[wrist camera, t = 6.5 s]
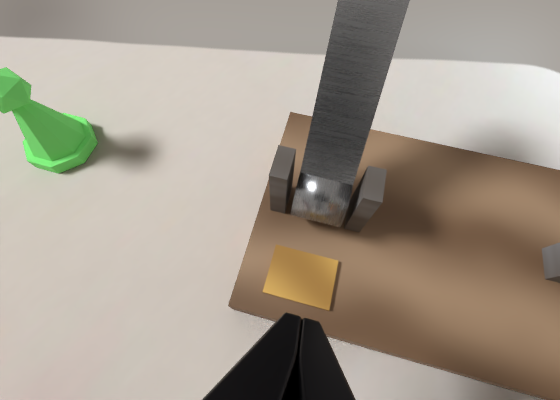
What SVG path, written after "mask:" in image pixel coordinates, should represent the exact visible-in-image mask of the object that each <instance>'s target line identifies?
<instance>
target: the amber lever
mask: <svg viewBox="0 0 560 400" xmlns="http://www.w3.org/2000/svg"><path fill="white" fill-rule="evenodd" d="M409 1H410V0H338V3H337V8H336V12H335V17H334V21H333V26H332V30H331V35H330V39H329V44H328V48H327V53H326V57H325V62H324V66H323V71H322V75H321V80H320V84H319V89H318V93H317V98H316V103H315V107H314V112H313V116H312V121H311V125H310V130H309V134H308V139H307V143H306V148H305V152H304V157H303V161H302V166H301V170H300V174H299V178H298V182H297V186H296V190H295V195H294V199H293V204H292V209H291V215H293V216H297V217H301V218H305V219H309V220H313V221H317V222H320V223H324V224H328V225H332V226H336V227H341V225H342V223H343V220H344V218H345V215H346V212H347V208H348V205H349V201H350V197H351V193H352V188H353V184H354V180H355V177H356V174H357V171H358V167H359V164H360V161H361V158H362V154H363V151H364V148H365V144H366V141H367V138H368V135H369V131H370V128H371V125H372V122H373V118H374V115H375V112H376V108H377V105H378V102H379V99H380V95H381V92H382V89H383V86H384V82H385V79H386V76H387V73H388V69H389V66H390V63H391V59H392V56H393V52H394V50H395V46H396V43H397V40H398V36H399V33H400V30H401V27H402V23H403V20H404V17H405V14H406V10H407V7H408V3H409Z"/></svg>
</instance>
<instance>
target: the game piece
mask: <svg viewBox="0 0 560 400" xmlns="http://www.w3.org/2000/svg"><path fill="white" fill-rule="evenodd" d="M30 95H31V85H30V84H29V83H28V82H26V81H25V80H23V79H22V78H21V77H19V76H18V75H16V74H15V73H14V72H12V71H11V70H9V69H8V68H7V67H6V68H2V69H0V111H1V112H2V113H7V112H9V111H11V110H12V112H13V114H14V116H15V118H16V120H17V122H18V124H19V126H20V129H21V131H22V133H23V135H24V137H25V140H24V141H23V145H24V149H25V153H26V157H27V161H28V162H30V163H31V164H32V165H34V166H35V167H37V168H41V169H44V170H48V171H51V172H55V173H61V172H64V171H66V170H69V169H71V168H74V167H76V166H79V165H81V164H84V163H85V162H86V160H87V159H88V157H89V156H90V154H91V153H92V151H93V150H94V148H95V147H96V145H97V144H98V142H97V139H96V137H95V134H94V131H93V128H92V126H91V124H90V123H89V122H88V121H87V120H86V119H85V118H81V117H77V116H73V115H70V114H66V113H59V112H57V111H55V110H53V109H51V108H48V107H46V106H44V105H42V104H39V103H37V102H35V101H33V100H31V99H30Z"/></svg>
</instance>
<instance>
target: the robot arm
mask: <svg viewBox="0 0 560 400" xmlns="http://www.w3.org/2000/svg"><path fill="white" fill-rule="evenodd" d="M202 400H355V398H354V395H353V393H352V391H351V389H350V387H349V384H348V382H347V380H346V378H345V376H344V374H343V371H342V369H341V367H340V365H339V363H338V360H337V358H336V356H335V354H334V352H333V349H332V347H331V345H330V343H329V341H328V339H327V336H326V334H325V332H324V330H323V328H322V325H321V323H320V322H319V321H316V320H313V319H309V318H303V319H302V318H301V317H300V316H298V315H295V314H291V313H288V312H286V313H284V314H283V315H282V316H281V317H280V318H279V319H278V320H277V321H276V322H275V323H274V324H273V325H272V326H271V328H270V329H269V330H268V331H267V332H266V333H265V334H264V335H263V336H262V337H261V338H260V339H259V340H258V341H257V342H256V343H255V344H254V345H253V347H252V348H251V349H250V350H249V351H248V352H247V353H246V354H245V355H244V356H243V357H242V358H241V359H240V360H239V361H238V362H237V363H236V364H235V366H234V367H233V368H232V369H231V370H230V371H229V372H228V373H227V374H226V375H225V376H224V377H223V378H222V379H221V380H220V381H219V382H218V383H217V385H216V386H215V387H214V388H213V389H212V390H211V391H210V392H209V393H208V394H207V395H206V396H205V397H204V398H203V399H202Z"/></svg>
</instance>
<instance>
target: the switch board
mask: <svg viewBox="0 0 560 400" xmlns="http://www.w3.org/2000/svg"><path fill="white" fill-rule="evenodd" d="M311 121H312V117H311V116H307V115H302V114H297V113H293V112H290V115H289V118H288V121H287V125H286V128H285V131H284V134H283V137H282V140H281V143H280V145H278V149H277V152H276V155H275V158H274V161H273V164H272V167H271V170H270V173H269V180H268V184H267V187H266V190H265V193H264V196H263V199H262V202H261V205H260V208H259V211H258V215H257V218H256V221H255V224H254V227H253V230H252V233H251V236H250V239H249V243H248V246H247V249H246V252H245V255H244V258H243V261H242V264H241V267H240V270H239V274H238V277H237V280H236V283H235V286H234V289H233V292H232V295H231V298H230V302H229V305H228V306H229V307H231V308H232V309H234V310H237V311H241V312H244V313H248V314H251V315H254V316H258V317H261V318H265V319H268V320H272V321H275V322H276V321H277V320H278V319H279V318H280V317H281V316H282V315H283V314H284V313H286V312H288V313H291V314H295V315H298V316H300V317H301V318H302V319H303V318H309V319H313V320H316V321H319V322H320V323H321V325H322V328H323V330H324V332H325V334H326V336H327V337H331V338H334V339H337V340H341V341H344V342H348V343H351V344H355V345H358V346H362V347H365V348H369V349H372V350H376V351H379V352H382V353H386V354H389V355H393V356H396V357H400V358H403V359H407V360H410V361H414V362H417V363H420V364H424V365H427V366H431V367H434V368H438V369H441V370H445V371H448V372H452V373H455V374H459V375H462V376H465V377H469V378H472V379H476V380H479V381H483V382H486V383H490V384H493V385H497V386H500V387H503V388H507V389H510V390H514V391H517V392H521V393H524V394H528V395H531V396H535V397H538V398H542V399H545V400H560V170H556V169H552V168H547V167H542V166H538V165H533V164H529V163H524V162H519V161H515V160H510V159H505V158H501V157H496V156H492V155H487V154H482V153H478V152H473V151H468V150H464V149H459V148H455V147H450V146H445V145H441V144H436V143H431V142H427V141H422V140H418V139H413V138H408V137H404V136H399V135H394V134H390V133H385V132H381V131H376V130H371V129H370V131H369V135H368V138H367V141H366V144H365V148H364V151H363V154H362V158H361V161H360V164H359V167H358V171H357V174H356V177H355V180H354V184H353V188H352V193H351V197H350V201H349V205H348V208H347V212H346V215H345V218H344V220H343V223H342V225H341V227H336V226H332V225H328V224H324V223H320V222H317V221H313V220H309V219H305V218H301V217H297V216H293V215H291V209H292V204H293V199H294V195H295V190H296V186H297V182H298V178H299V174H300V170H301V166H302V161H303V157H304V152H305V148H306V143H307V139H308V134H309V130H310V125H311Z"/></svg>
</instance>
